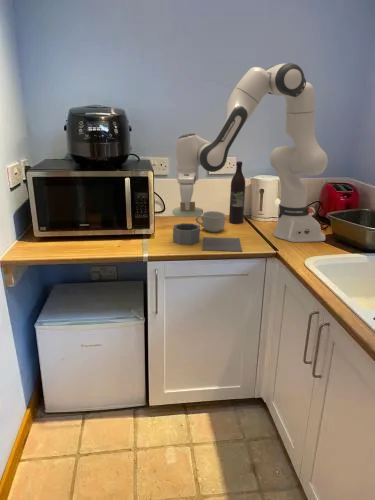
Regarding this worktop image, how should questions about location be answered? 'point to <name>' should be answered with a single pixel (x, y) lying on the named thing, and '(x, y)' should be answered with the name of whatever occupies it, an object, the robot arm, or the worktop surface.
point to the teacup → (212, 221)
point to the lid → (187, 211)
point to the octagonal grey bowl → (186, 234)
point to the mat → (221, 244)
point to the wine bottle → (237, 196)
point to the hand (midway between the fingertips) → (187, 208)
